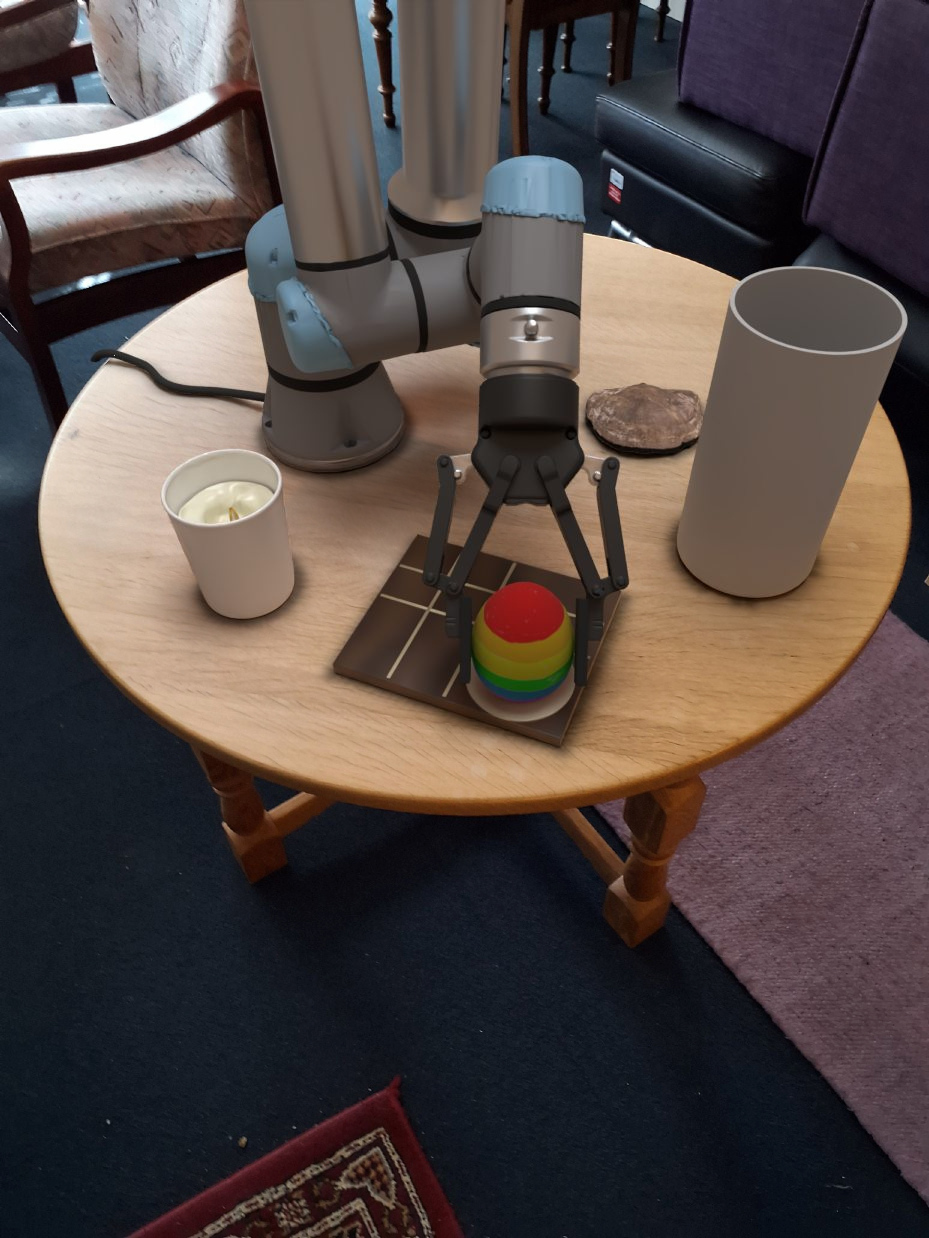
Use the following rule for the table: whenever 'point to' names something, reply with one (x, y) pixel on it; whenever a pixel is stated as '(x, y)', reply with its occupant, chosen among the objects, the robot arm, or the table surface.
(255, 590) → the candle holder
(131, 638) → the table surface
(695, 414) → the shell
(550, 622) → the decorative egg
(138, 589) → the table surface
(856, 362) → the cylinder vase
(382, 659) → the board
